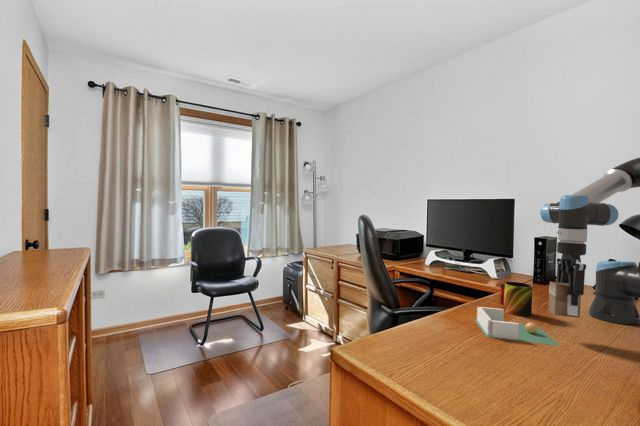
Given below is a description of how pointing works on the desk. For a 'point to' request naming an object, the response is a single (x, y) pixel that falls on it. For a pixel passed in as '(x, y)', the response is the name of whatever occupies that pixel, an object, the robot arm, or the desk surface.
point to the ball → (531, 327)
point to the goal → (496, 323)
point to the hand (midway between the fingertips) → (568, 312)
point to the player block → (560, 299)
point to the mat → (528, 336)
